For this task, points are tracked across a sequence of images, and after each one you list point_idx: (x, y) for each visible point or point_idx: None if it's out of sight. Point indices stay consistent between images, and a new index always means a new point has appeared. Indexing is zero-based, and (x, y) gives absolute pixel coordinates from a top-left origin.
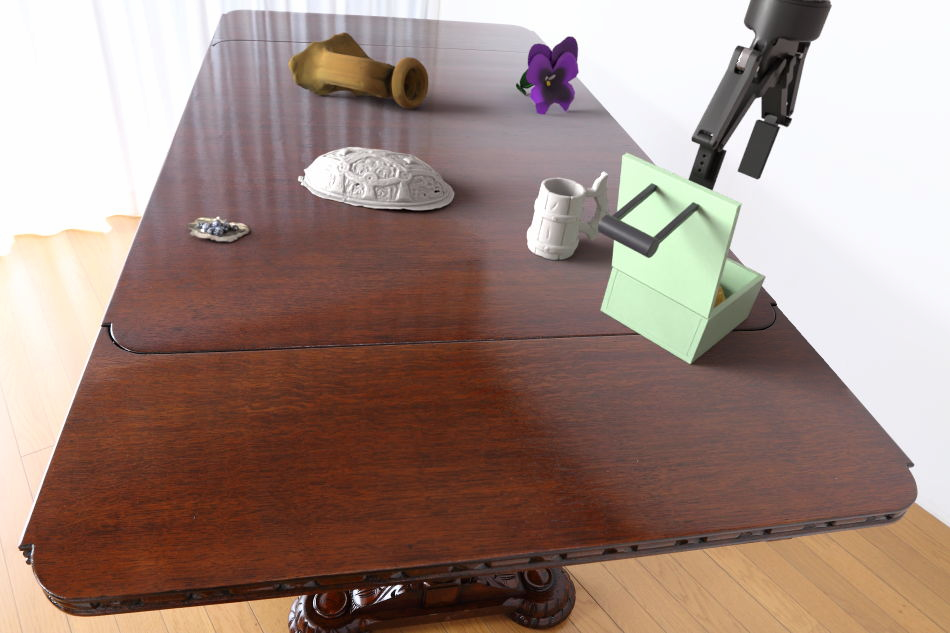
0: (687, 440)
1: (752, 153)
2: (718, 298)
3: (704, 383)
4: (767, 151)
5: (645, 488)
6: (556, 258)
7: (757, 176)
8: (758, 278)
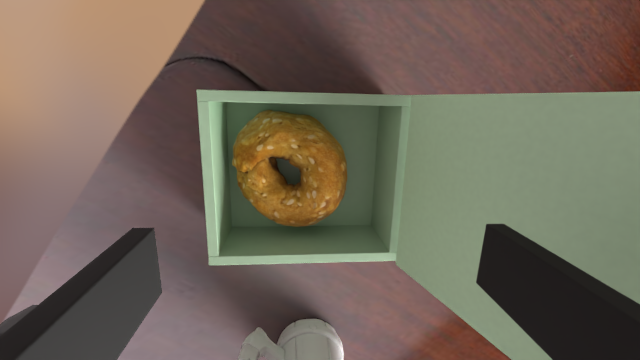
0: (510, 30)
1: (120, 319)
2: (285, 127)
3: (405, 65)
4: (92, 289)
5: (599, 29)
6: (327, 324)
7: (149, 235)
8: (217, 95)
